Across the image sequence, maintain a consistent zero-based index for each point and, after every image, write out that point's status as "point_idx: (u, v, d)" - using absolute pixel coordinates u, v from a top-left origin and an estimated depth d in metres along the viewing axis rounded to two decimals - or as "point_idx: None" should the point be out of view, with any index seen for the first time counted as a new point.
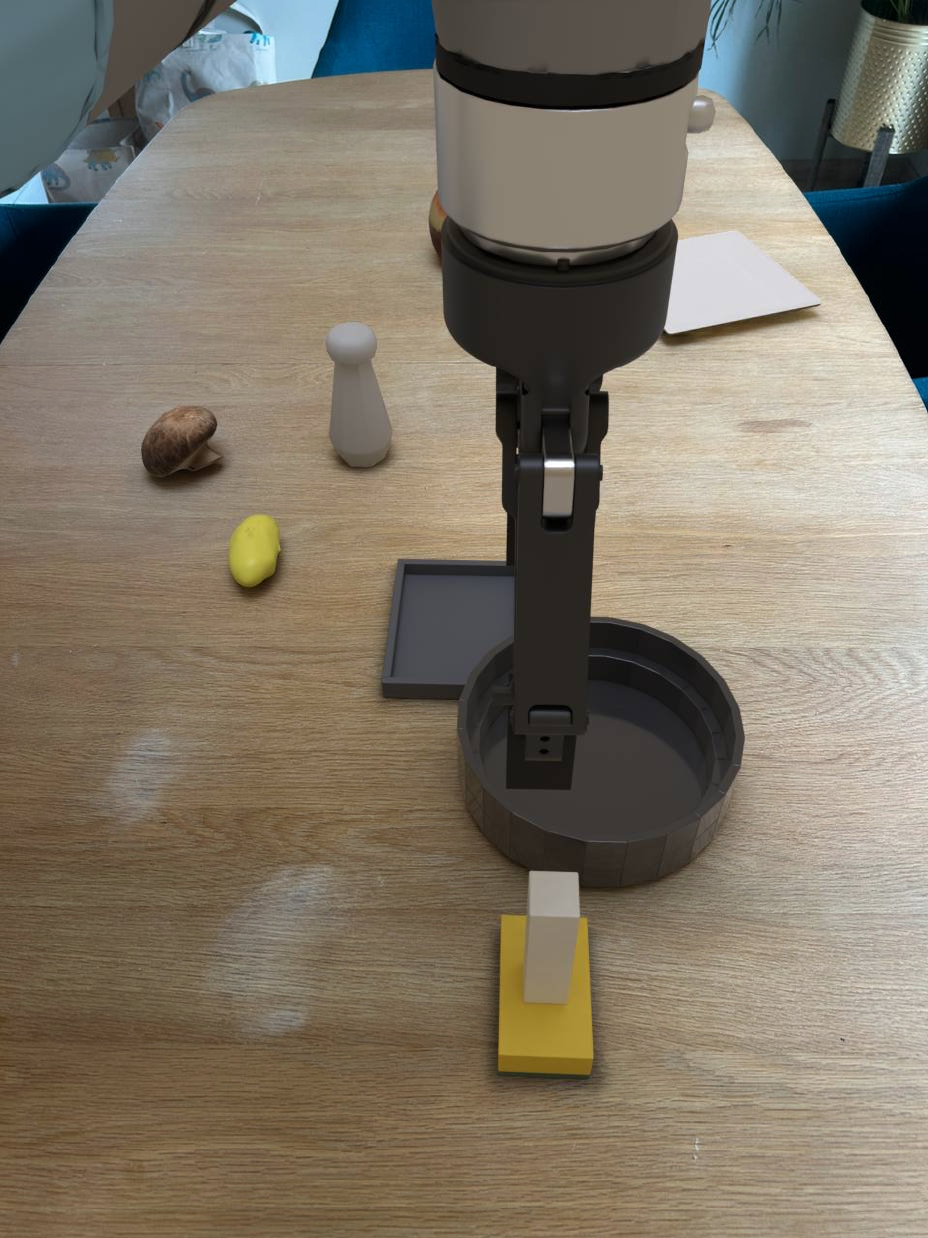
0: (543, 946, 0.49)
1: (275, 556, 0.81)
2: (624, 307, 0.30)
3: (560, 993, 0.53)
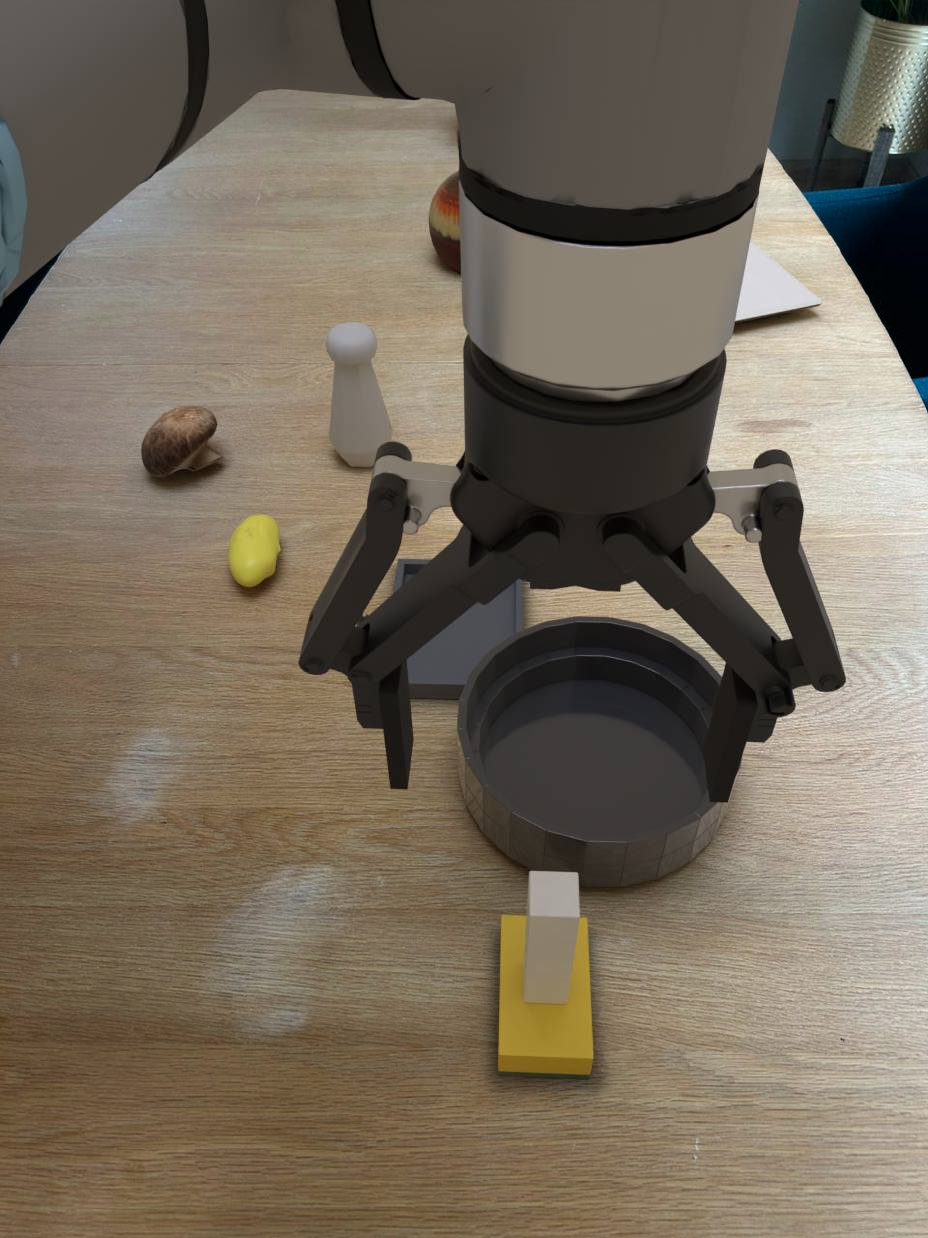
0: (543, 946, 0.49)
1: (275, 556, 0.81)
2: None
3: (560, 993, 0.53)
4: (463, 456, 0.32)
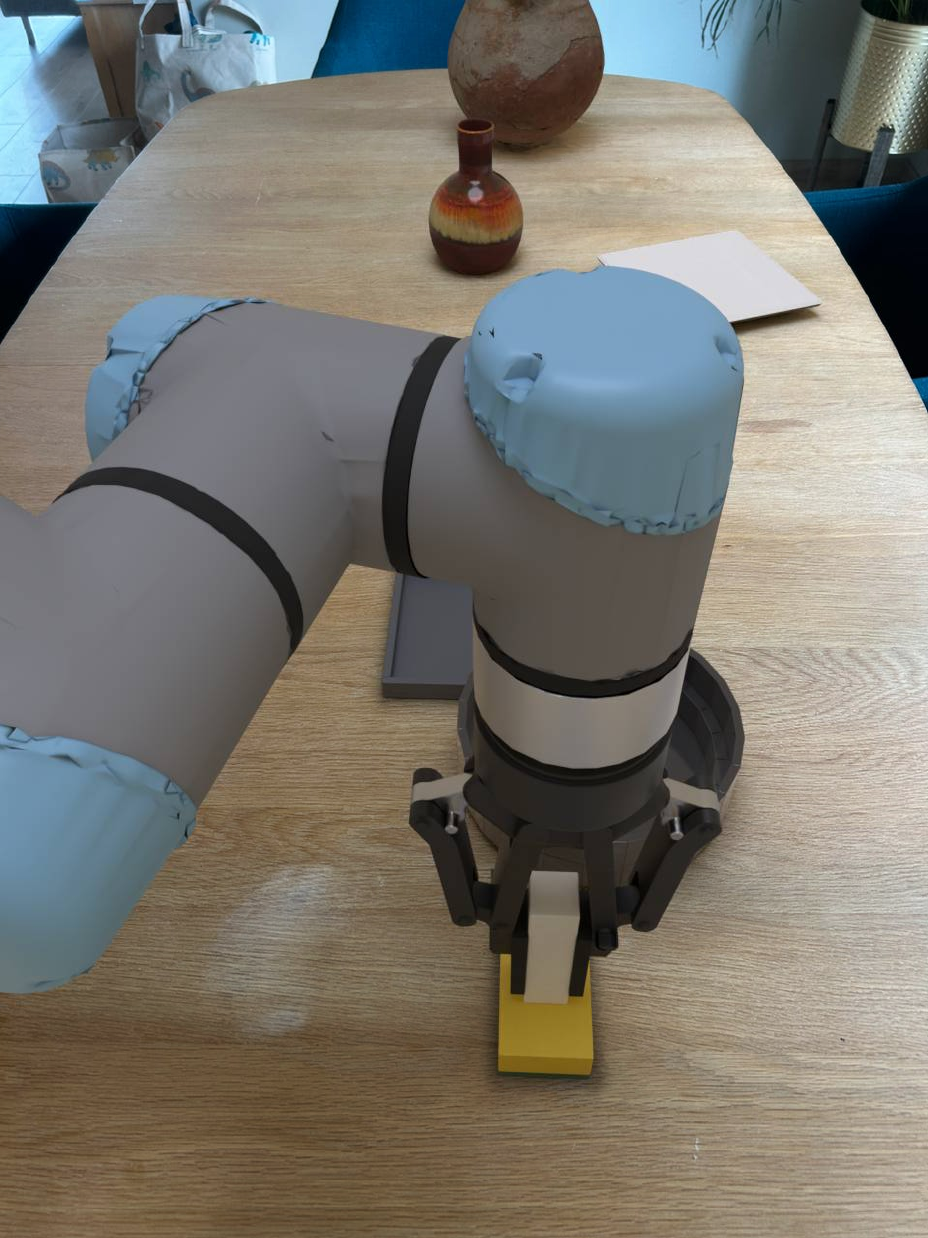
0: (543, 946, 0.49)
1: None
2: None
3: (560, 993, 0.53)
4: (472, 757, 0.41)
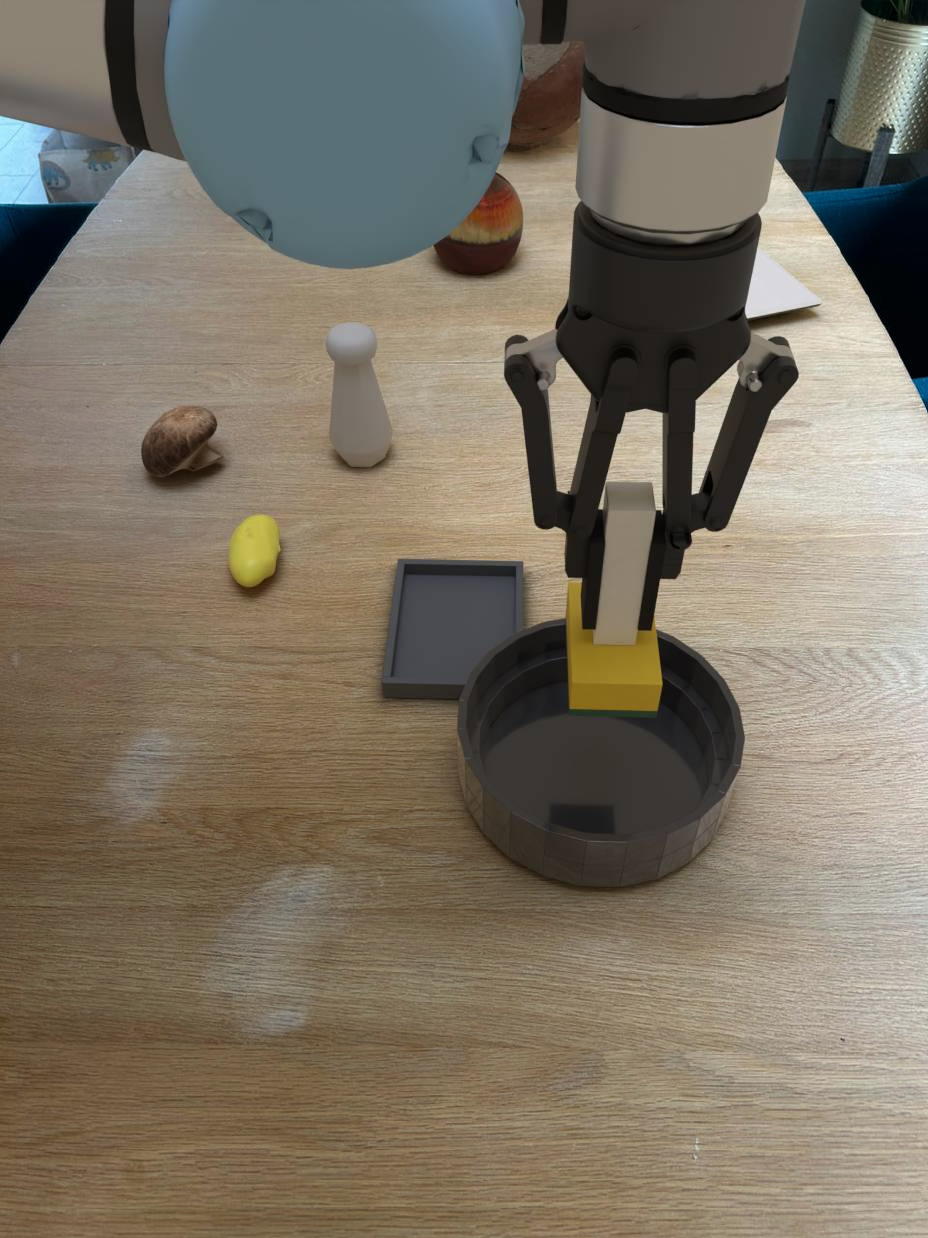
0: (618, 556, 0.52)
1: (275, 556, 0.81)
2: None
3: (629, 628, 0.56)
4: (565, 307, 0.44)
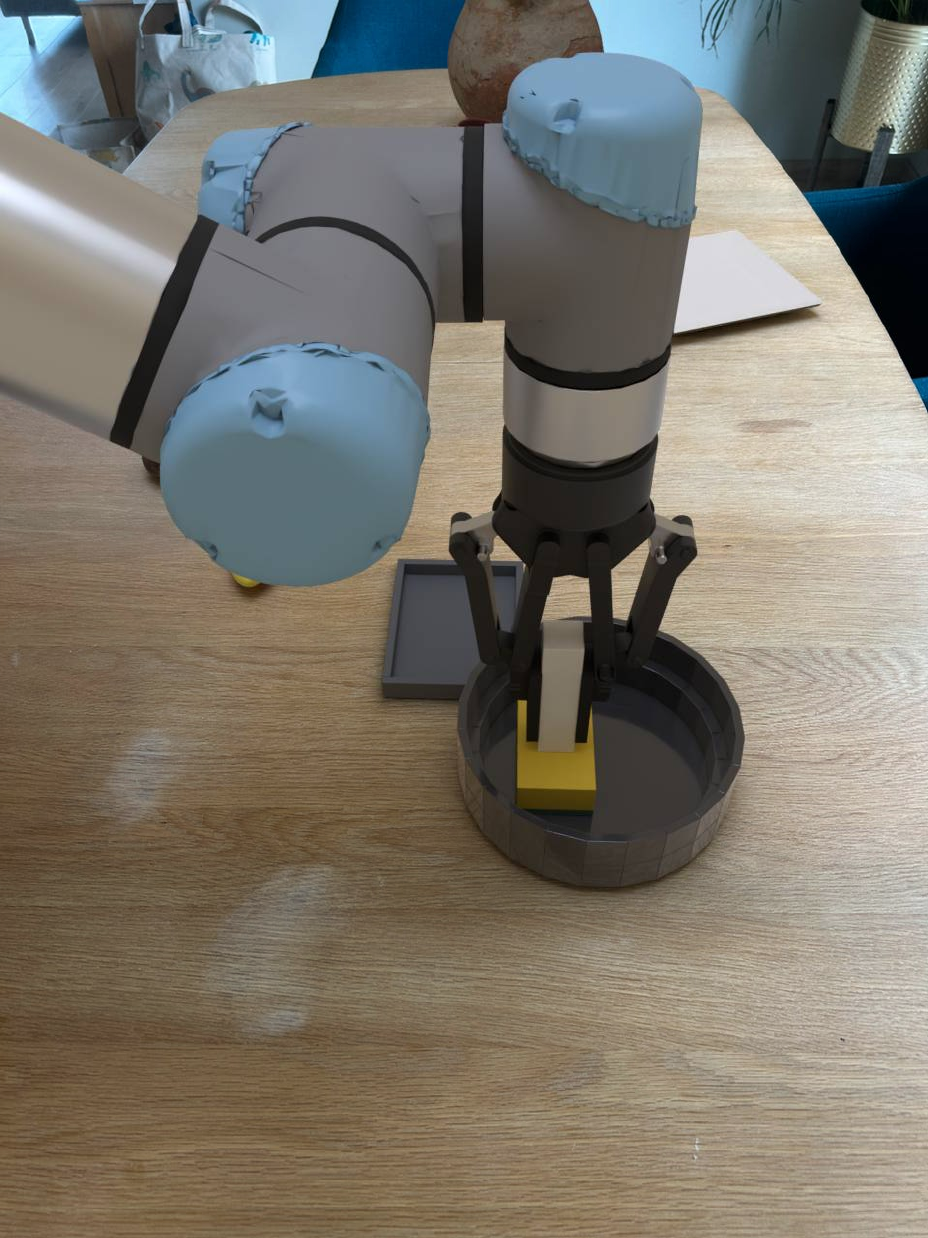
0: (554, 683, 0.60)
1: None
2: None
3: (568, 739, 0.64)
4: (499, 494, 0.52)
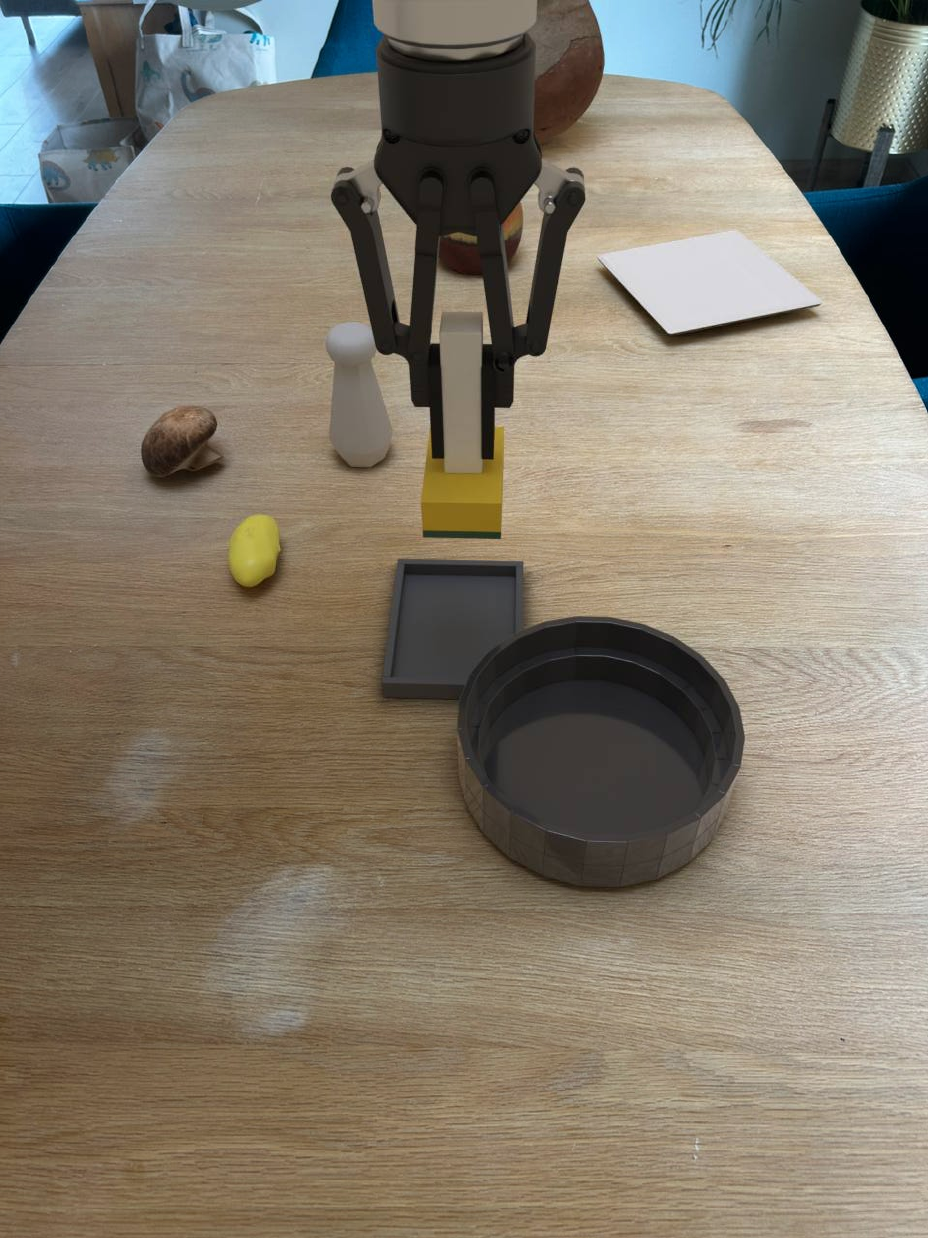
0: (454, 379, 0.59)
1: (275, 556, 0.81)
2: None
3: (474, 455, 0.62)
4: None
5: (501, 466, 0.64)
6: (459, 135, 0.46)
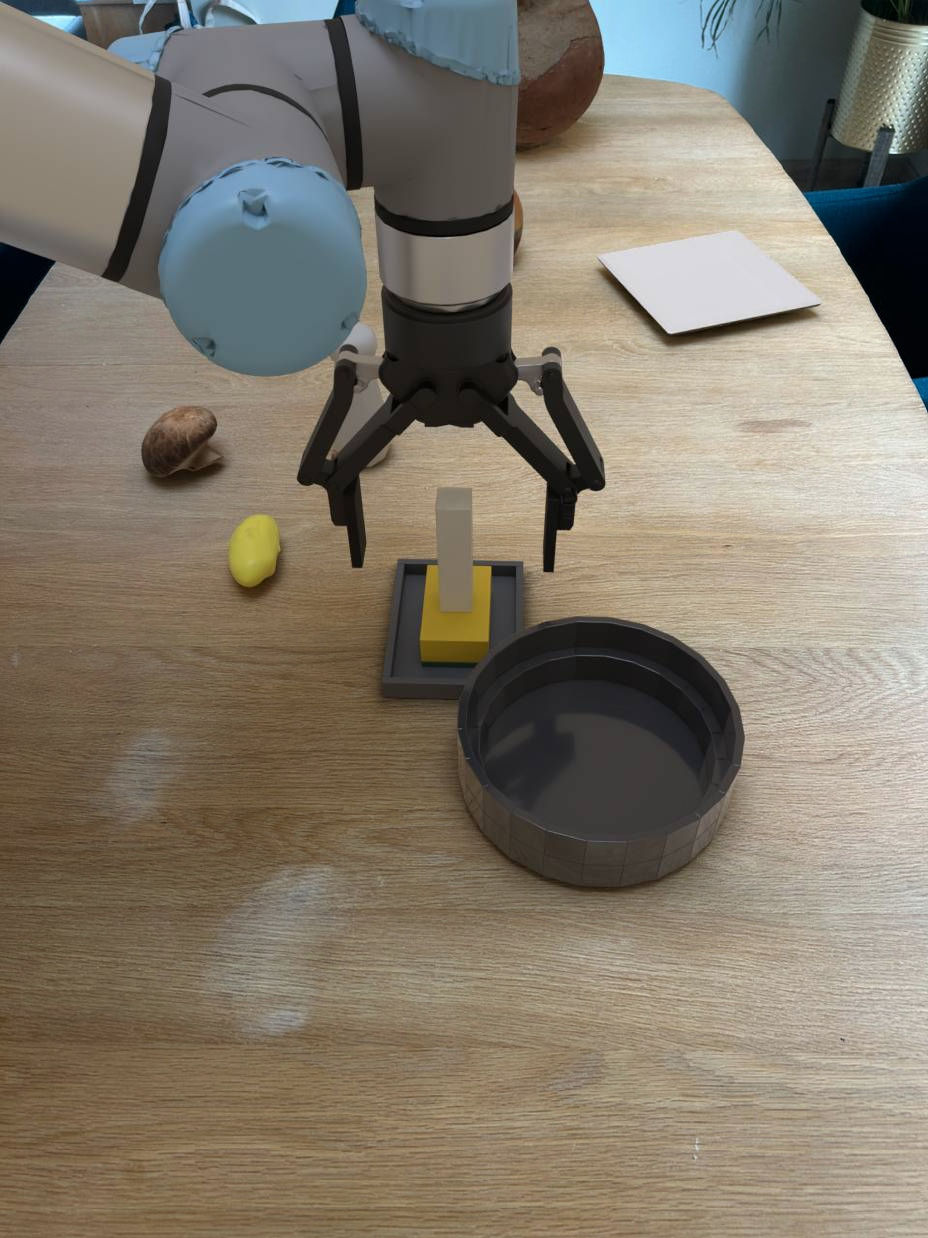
0: (448, 543, 0.69)
1: (275, 556, 0.81)
2: None
3: (465, 599, 0.73)
4: None
5: (488, 605, 0.75)
6: (449, 366, 0.56)
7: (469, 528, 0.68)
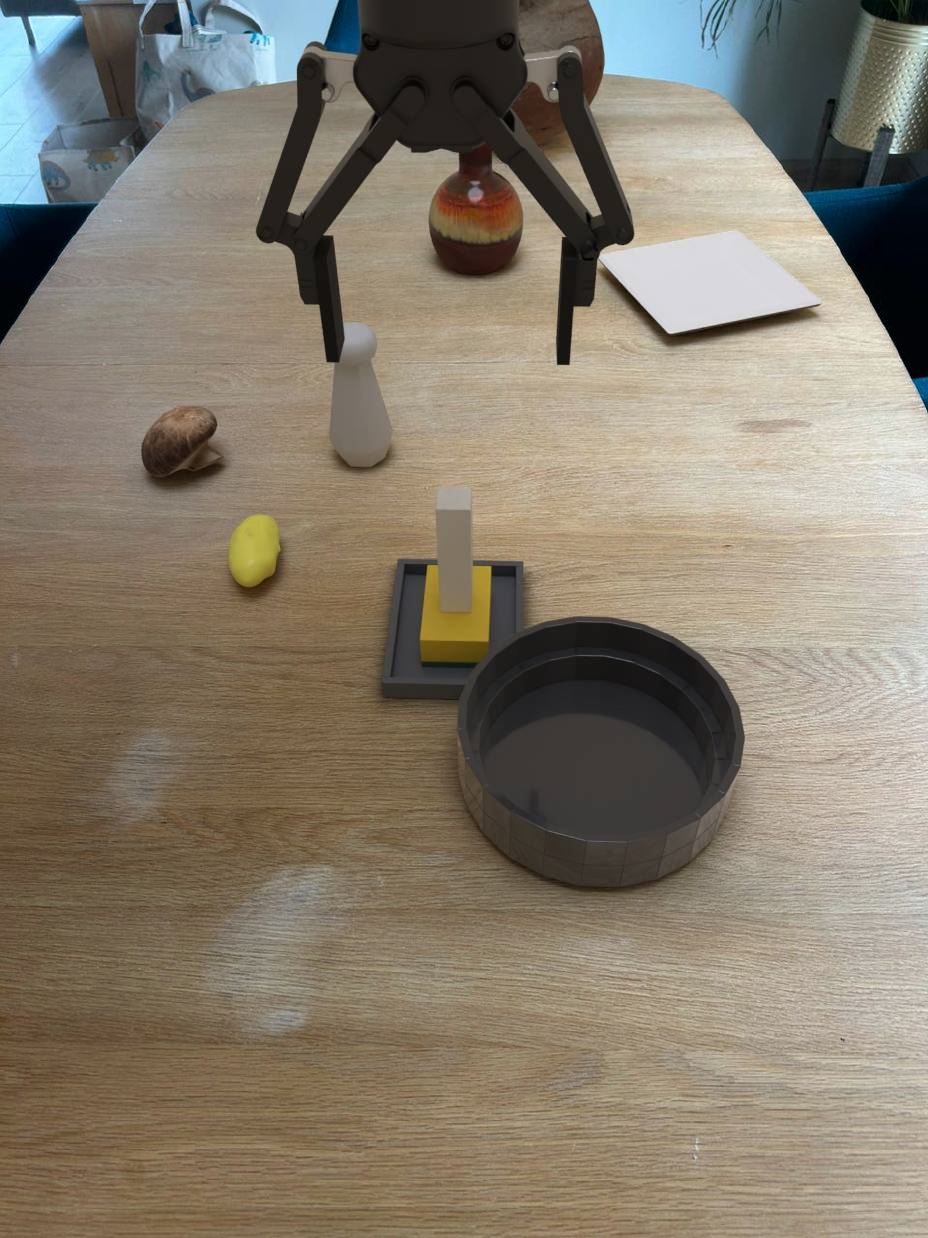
0: (448, 543, 0.69)
1: (275, 556, 0.81)
2: None
3: (465, 599, 0.73)
4: None
5: (488, 605, 0.75)
6: (440, 35, 0.44)
7: (469, 528, 0.68)
